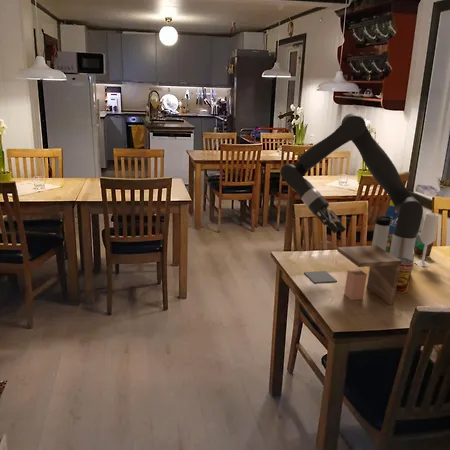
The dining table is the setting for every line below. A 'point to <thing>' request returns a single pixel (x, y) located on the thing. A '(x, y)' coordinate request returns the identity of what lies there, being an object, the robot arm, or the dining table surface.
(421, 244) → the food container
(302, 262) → the dining table surface
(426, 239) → the champagne flute
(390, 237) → the blue food package
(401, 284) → the canned food
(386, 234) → the travel mug
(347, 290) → the terracotta block
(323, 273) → the slate mat
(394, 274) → the shelf nook
